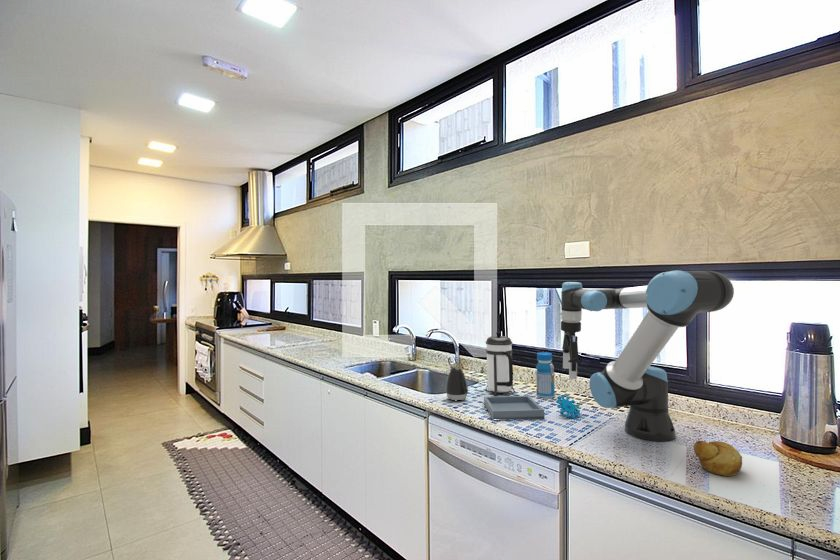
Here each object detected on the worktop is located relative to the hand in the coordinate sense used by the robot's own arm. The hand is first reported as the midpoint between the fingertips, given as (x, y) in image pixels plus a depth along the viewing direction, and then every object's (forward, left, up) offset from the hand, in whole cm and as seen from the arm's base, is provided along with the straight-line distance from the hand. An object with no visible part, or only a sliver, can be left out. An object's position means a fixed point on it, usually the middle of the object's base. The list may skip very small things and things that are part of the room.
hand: (569, 373), depth 157 cm
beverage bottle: (+27, +1, -17) cm, 32 cm away
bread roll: (-48, -23, -17) cm, 56 cm away
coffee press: (+34, +20, -17) cm, 43 cm away
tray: (+6, +22, -16) cm, 28 cm away
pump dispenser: (+25, +43, -17) cm, 52 cm away
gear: (-1, +1, -17) cm, 17 cm away
